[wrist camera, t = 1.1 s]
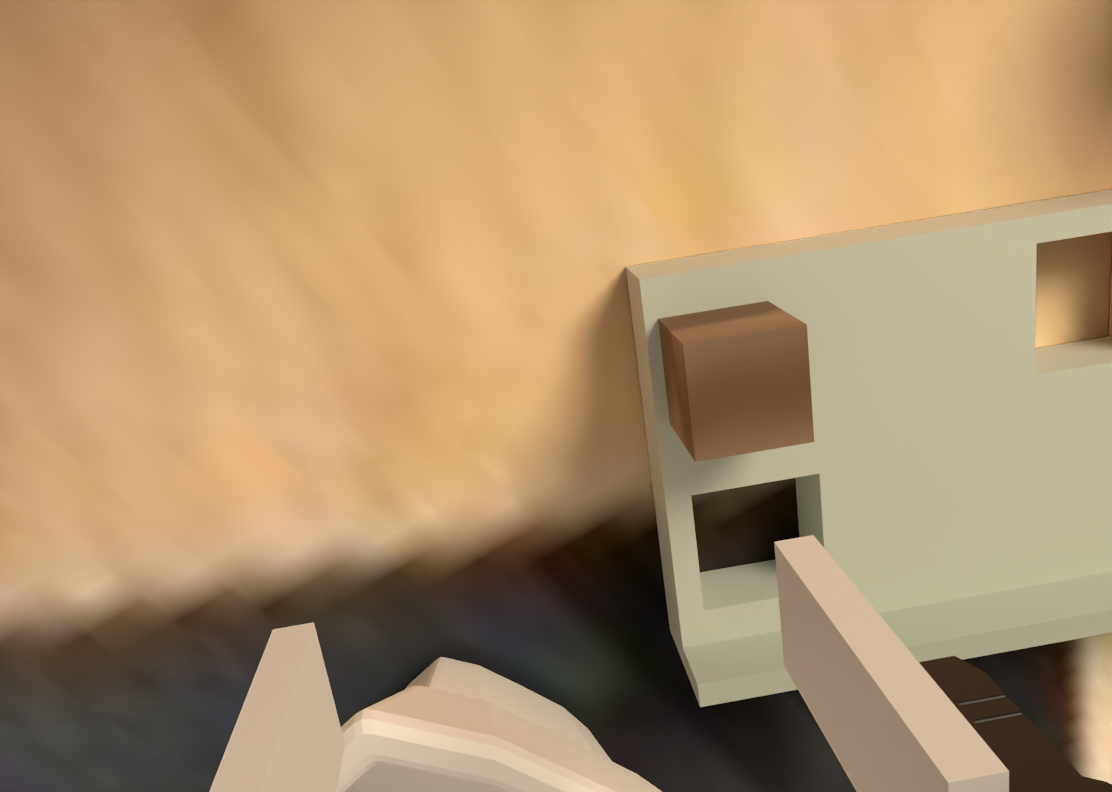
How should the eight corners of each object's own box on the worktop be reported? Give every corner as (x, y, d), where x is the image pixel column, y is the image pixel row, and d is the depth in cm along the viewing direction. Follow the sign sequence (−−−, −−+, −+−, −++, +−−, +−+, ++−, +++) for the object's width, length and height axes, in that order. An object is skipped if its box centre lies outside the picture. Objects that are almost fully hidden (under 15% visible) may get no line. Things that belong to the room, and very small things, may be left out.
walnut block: (658, 318, 32) (682, 344, 29) (767, 300, 33) (807, 324, 29) (669, 423, 34) (695, 462, 30) (775, 405, 34) (814, 441, 30)
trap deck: (625, 266, 35) (652, 292, 30) (1296, 159, 36) (1436, 166, 31) (669, 629, 40) (700, 707, 34) (1261, 524, 41) (1378, 584, 36)
